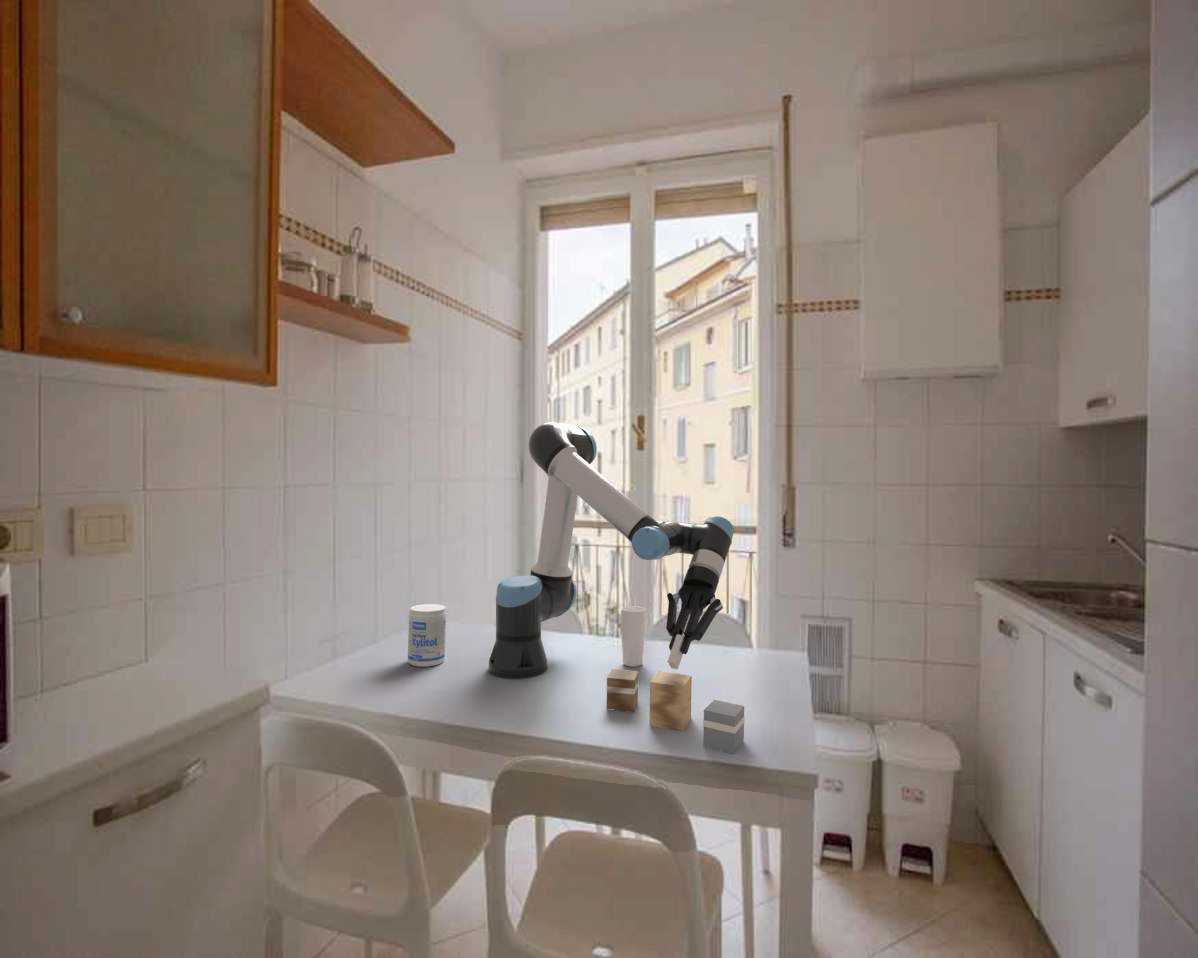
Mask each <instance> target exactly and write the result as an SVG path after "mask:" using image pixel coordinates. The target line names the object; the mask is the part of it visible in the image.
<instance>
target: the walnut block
mask: <svg viewBox="0 0 1198 958" xmlns="http://www.w3.org/2000/svg"><path fill="white" fill-rule="evenodd" d="M637 702H638V703H639V670H628V669H619V668H618V669H616V668H612V669H611V670H610V672H609V674H608V675H607V677H606V710H607V709H614V710H613V711H615V710H618V711H617V712H626V711H632V712H631V713H635V711H634V710H636V708H635V707H637V705H638V703H637Z"/></svg>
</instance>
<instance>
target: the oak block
mask: <svg viewBox="0 0 1198 958" xmlns="http://www.w3.org/2000/svg"><path fill="white" fill-rule="evenodd" d="M692 678H693V677H692V675H688V674H681V673H674V672H667V671H658V672H657V674H656V675H655V676H653V678H652V679H651V680H650V681H649V726H650V725H652V726H651V727H656V728H661V727H662V729H667V730H673V731H679V732H684V730H685V729H686V727H687V725H688V724H689V722H690V721H691V718H692V684H693V683H692V681H693V680H692Z"/></svg>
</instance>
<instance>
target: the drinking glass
mask: <svg viewBox="0 0 1198 958" xmlns="http://www.w3.org/2000/svg"><path fill="white" fill-rule="evenodd" d="M646 627H647V611H646V608H645V607H643V606H638V605H627V606H622V607H621V608H620V633H621V648H622V664H623V665H624V666H627V667H633V668H636V667H640V666H641V665H643V657H644V646H645V636H646Z"/></svg>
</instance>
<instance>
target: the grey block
mask: <svg viewBox="0 0 1198 958" xmlns="http://www.w3.org/2000/svg"><path fill="white" fill-rule="evenodd" d="M702 725H703V726H702V727H703V730H702V731H703V736H702V737H703V738H702V739H703V740H702V744H703V746H702V747H704V748H707V747H709V748H708V749H711V748H712V749H711V750H715V749H717V750H716V751H719V750H721V751H720V752H723V753H727V754H731V755H735V754H736V753H737V752H738V751H739V749H740V747H741V746H742V745H743V743H744V739H745V733H744V732H745V705H741V704H737V703H733V702H726V701H722V700H717V699H713V700H712V701H711V702H710V703H709V704H708V705H707V706H706V707H705V708H704V710H703V722H702Z"/></svg>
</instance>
